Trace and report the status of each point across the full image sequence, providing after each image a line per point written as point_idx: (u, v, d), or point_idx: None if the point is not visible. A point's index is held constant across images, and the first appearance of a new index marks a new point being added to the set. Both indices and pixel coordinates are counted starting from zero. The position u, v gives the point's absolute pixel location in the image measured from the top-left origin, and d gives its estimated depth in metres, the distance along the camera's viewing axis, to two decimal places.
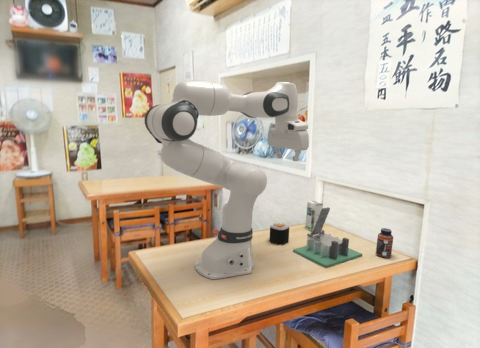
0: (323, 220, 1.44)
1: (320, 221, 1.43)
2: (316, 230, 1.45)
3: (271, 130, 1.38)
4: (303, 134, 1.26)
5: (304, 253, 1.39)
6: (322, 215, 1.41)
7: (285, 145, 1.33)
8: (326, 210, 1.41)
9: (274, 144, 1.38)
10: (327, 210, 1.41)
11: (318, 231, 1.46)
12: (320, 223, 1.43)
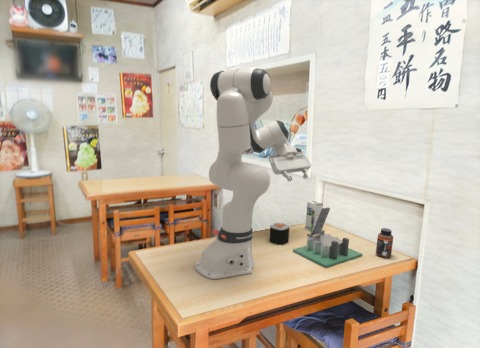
0: (323, 220, 1.44)
1: (320, 221, 1.43)
2: (316, 230, 1.45)
3: (277, 157, 1.53)
4: None
5: (304, 253, 1.39)
6: (322, 215, 1.41)
7: (296, 165, 1.55)
8: (326, 210, 1.41)
9: (285, 168, 1.51)
10: (327, 210, 1.41)
11: (318, 231, 1.46)
12: (320, 223, 1.43)
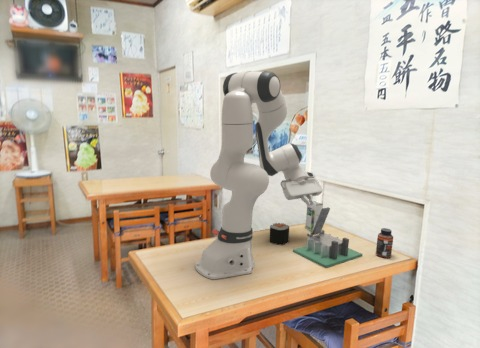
0: (323, 220, 1.44)
1: (320, 221, 1.43)
2: (316, 230, 1.45)
3: (289, 182, 1.48)
4: None
5: (304, 253, 1.39)
6: (322, 215, 1.41)
7: (308, 190, 1.50)
8: (326, 210, 1.41)
9: (297, 193, 1.46)
10: (327, 210, 1.41)
11: (318, 231, 1.46)
12: (320, 223, 1.43)
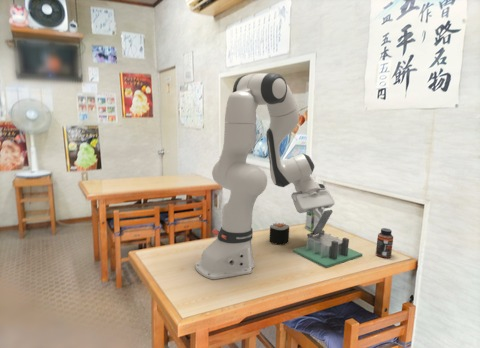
0: (324, 221, 1.43)
1: (321, 222, 1.42)
2: (316, 231, 1.45)
3: (300, 195, 1.43)
4: None
5: (304, 253, 1.39)
6: (324, 217, 1.40)
7: (320, 203, 1.45)
8: (328, 212, 1.40)
9: (309, 206, 1.41)
10: (329, 212, 1.40)
11: (318, 231, 1.46)
12: (321, 224, 1.43)
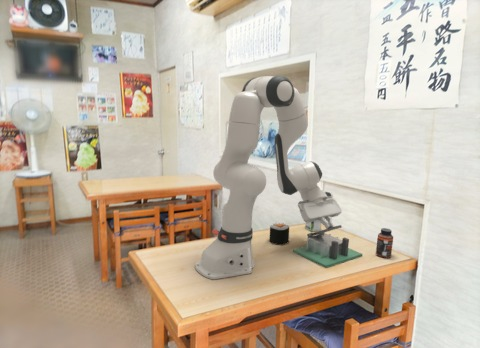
0: None
1: (326, 231, 1.41)
2: None
3: (307, 203, 1.40)
4: None
5: (304, 253, 1.39)
6: None
7: (327, 212, 1.42)
8: (337, 228, 1.37)
9: (316, 215, 1.38)
10: None
11: (319, 233, 1.46)
12: (324, 232, 1.42)
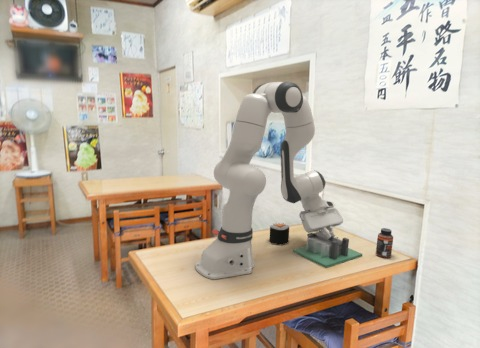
0: None
1: None
2: None
3: (308, 214, 1.40)
4: None
5: (304, 253, 1.39)
6: None
7: (329, 222, 1.42)
8: None
9: (318, 225, 1.38)
10: None
11: None
12: None
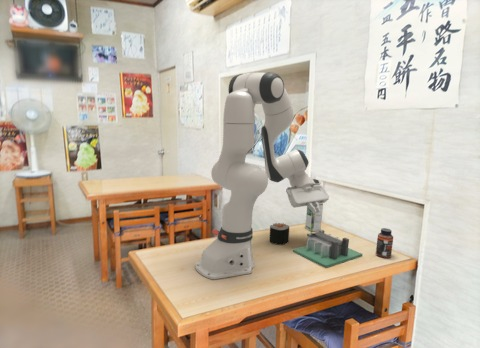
0: None
1: None
2: None
3: (295, 189, 1.45)
4: None
5: (304, 253, 1.39)
6: None
7: (314, 198, 1.47)
8: None
9: (303, 200, 1.43)
10: None
11: None
12: None
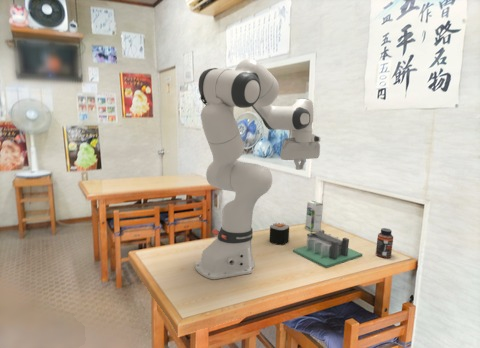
0: None
1: None
2: None
3: (291, 144, 1.41)
4: None
5: (304, 253, 1.39)
6: None
7: (305, 156, 1.47)
8: None
9: (293, 157, 1.43)
10: None
11: None
12: None
